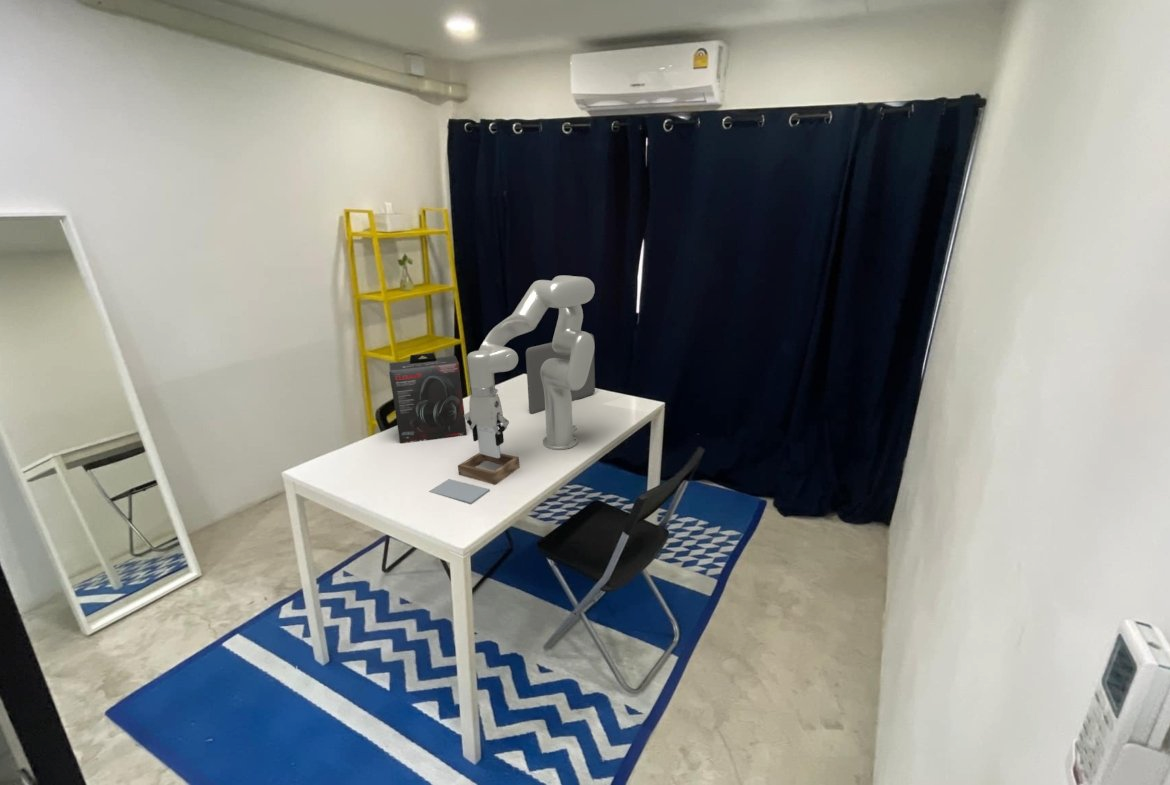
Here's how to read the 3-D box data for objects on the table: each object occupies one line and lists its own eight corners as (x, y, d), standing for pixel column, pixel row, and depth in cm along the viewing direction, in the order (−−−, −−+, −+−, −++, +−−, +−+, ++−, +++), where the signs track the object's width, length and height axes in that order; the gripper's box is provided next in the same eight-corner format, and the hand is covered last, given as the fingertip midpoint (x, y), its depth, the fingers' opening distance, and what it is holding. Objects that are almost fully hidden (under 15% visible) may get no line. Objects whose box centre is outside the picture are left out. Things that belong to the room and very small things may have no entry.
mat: (449, 481, 176) (448, 478, 176) (490, 491, 169) (489, 489, 169) (429, 493, 169) (429, 491, 168) (471, 504, 161) (470, 502, 161)
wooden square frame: (484, 460, 190) (483, 449, 189) (519, 468, 184) (519, 457, 182) (459, 476, 179) (457, 465, 178) (495, 485, 173) (494, 473, 171)
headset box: (399, 449, 202) (387, 361, 191) (398, 436, 213) (387, 352, 203) (467, 438, 209) (459, 353, 199) (463, 427, 220) (455, 346, 210)
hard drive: (482, 451, 183) (478, 416, 179) (501, 456, 179) (497, 420, 174) (479, 453, 181) (474, 418, 177) (498, 458, 177) (494, 422, 173)
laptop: (554, 383, 274) (551, 325, 265) (596, 396, 253) (595, 333, 244) (490, 402, 249) (484, 338, 240) (531, 418, 229) (527, 349, 219)
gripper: (513, 390, 172) (517, 441, 178) (468, 384, 180) (474, 433, 185) (498, 397, 166) (503, 451, 171) (453, 391, 174) (459, 442, 179)
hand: (488, 441), depth 178 cm, fingers closed on hard drive, 8 cm apart
